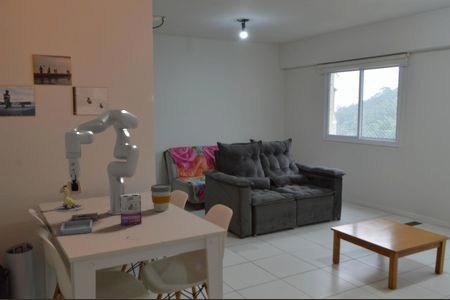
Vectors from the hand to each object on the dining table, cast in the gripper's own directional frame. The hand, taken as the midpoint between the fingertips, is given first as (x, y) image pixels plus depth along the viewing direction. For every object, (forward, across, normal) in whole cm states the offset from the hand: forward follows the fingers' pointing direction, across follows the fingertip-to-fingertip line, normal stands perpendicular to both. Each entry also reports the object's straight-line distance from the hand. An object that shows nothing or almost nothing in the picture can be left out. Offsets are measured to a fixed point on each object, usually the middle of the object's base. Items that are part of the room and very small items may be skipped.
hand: (75, 189), depth 198 cm
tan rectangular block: (+2, 0, -1) cm, 2 cm away
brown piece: (+21, +18, -3) cm, 28 cm away
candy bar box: (+21, +2, -28) cm, 35 cm away
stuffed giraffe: (+22, +47, +8) cm, 53 cm away
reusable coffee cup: (+21, +27, -48) cm, 59 cm away
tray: (+21, 0, 0) cm, 21 cm away
